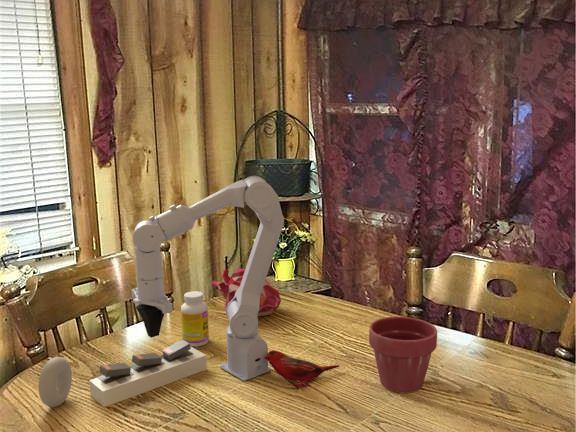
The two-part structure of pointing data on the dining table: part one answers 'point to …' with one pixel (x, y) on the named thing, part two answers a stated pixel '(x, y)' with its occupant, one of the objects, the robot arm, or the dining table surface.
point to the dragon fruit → (268, 295)
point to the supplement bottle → (194, 319)
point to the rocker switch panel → (146, 377)
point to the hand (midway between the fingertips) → (153, 335)
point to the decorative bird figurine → (295, 368)
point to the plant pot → (402, 351)
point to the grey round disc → (55, 381)
